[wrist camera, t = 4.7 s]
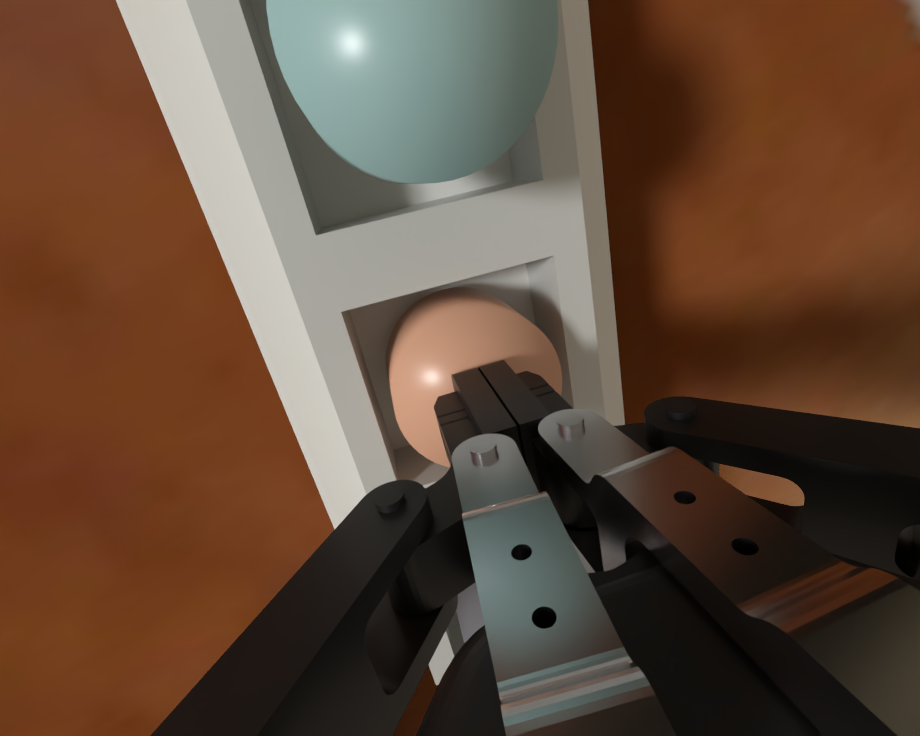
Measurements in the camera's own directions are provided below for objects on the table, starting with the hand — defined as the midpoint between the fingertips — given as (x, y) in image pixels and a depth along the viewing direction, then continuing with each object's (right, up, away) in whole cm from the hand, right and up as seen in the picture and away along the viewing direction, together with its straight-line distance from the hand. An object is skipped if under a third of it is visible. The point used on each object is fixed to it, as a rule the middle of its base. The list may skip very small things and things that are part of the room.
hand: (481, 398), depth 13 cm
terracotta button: (-1, +1, +3) cm, 3 cm away
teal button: (-2, +8, -3) cm, 8 cm away
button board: (-1, +2, +5) cm, 5 cm away
